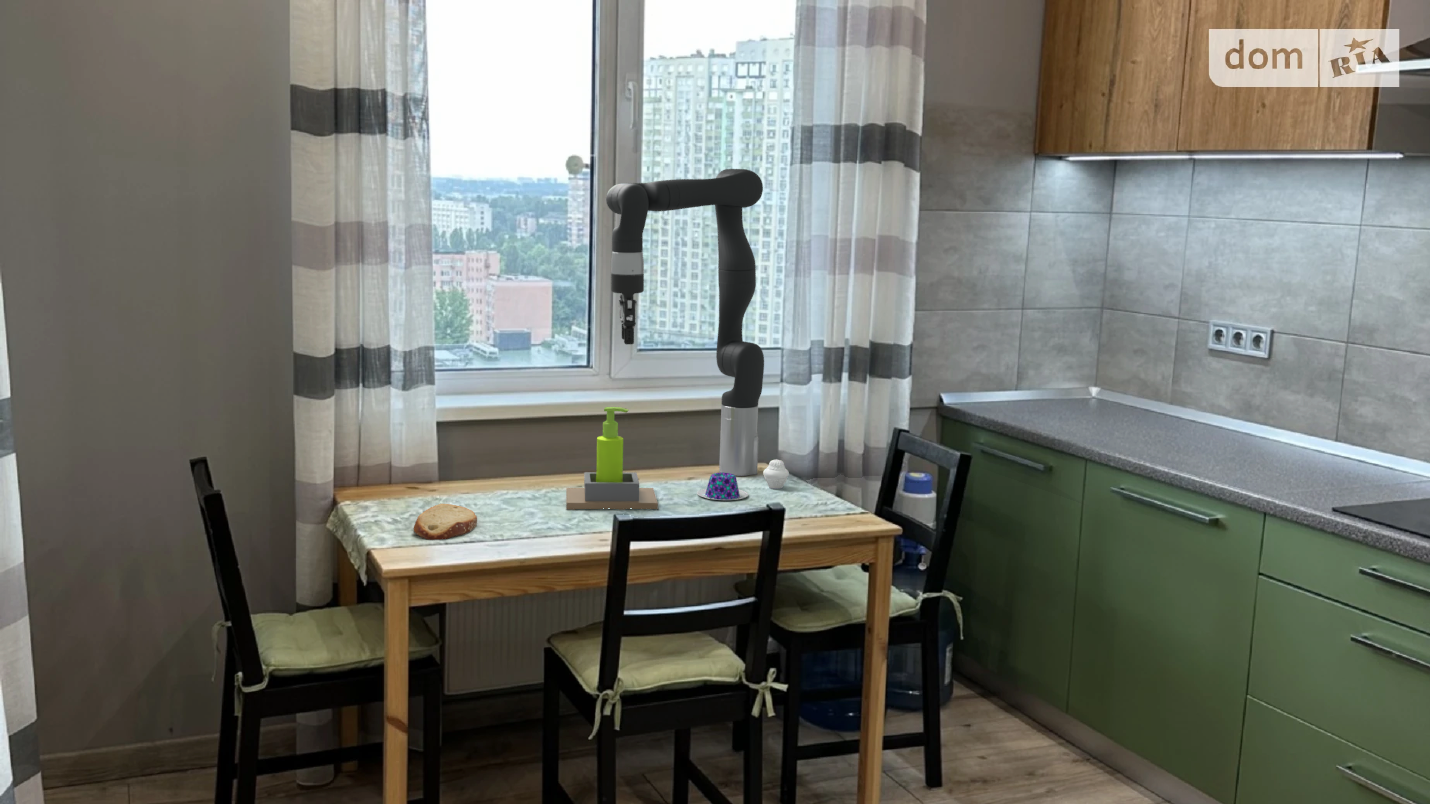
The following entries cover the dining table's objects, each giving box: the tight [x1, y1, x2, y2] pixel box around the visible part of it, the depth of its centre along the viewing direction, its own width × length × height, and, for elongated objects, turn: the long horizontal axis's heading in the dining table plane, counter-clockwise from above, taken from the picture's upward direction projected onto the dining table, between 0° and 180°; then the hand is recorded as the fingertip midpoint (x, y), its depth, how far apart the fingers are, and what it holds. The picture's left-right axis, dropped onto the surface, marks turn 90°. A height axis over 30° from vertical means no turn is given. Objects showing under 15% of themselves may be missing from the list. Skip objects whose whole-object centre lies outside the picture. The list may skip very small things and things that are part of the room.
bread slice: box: [413, 503, 478, 541], centre depth 254 cm, size 18×18×4 cm
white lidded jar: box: [762, 458, 790, 490], centre depth 296 cm, size 6×6×7 cm
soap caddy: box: [565, 471, 659, 510], centre depth 277 cm, size 20×14×6 cm
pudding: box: [696, 472, 749, 501], centre depth 287 cm, size 12×12×5 cm
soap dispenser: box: [595, 406, 629, 482], centre depth 276 cm, size 6×7×20 cm
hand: (627, 341), depth 286 cm, fingers open, 8 cm apart
